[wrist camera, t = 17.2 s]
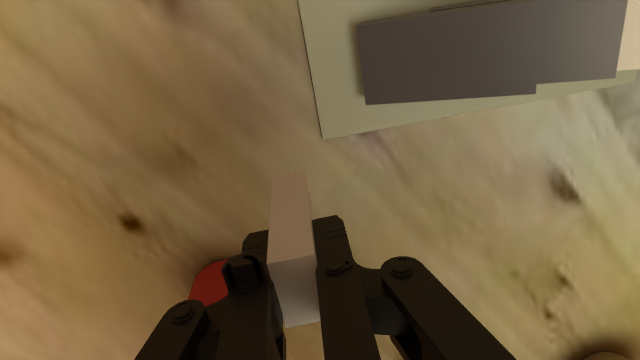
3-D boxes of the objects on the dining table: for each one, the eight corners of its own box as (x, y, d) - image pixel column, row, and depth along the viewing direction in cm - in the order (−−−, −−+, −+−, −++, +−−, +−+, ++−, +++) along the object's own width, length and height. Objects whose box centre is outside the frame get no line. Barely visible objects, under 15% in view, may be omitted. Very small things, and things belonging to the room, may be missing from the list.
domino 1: (365, 105, 26) (535, 94, 23) (356, 26, 24) (542, -1, 21) (371, 97, 28) (532, 85, 24) (362, 21, 26) (538, -4, 22)
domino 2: (433, 91, 26) (615, 78, 23) (430, 11, 24) (630, -19, 20) (435, 84, 28) (606, 70, 24) (432, 7, 26) (620, -21, 22)
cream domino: (503, 79, 26) (697, 64, 23) (506, -3, 24) (722, -34, 20) (502, 72, 28) (684, 57, 24) (505, -6, 26) (705, -36, 22)
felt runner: (322, 138, 29) (322, 140, 29) (296, -10, 25) (296, -10, 25) (630, 80, 29) (635, 82, 29) (660, -79, 25) (665, -80, 24)
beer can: (260, 319, 37) (249, 457, 26) (188, 307, 35) (144, 447, 25) (278, 264, 34) (275, 392, 23) (201, 248, 33) (159, 376, 22)
